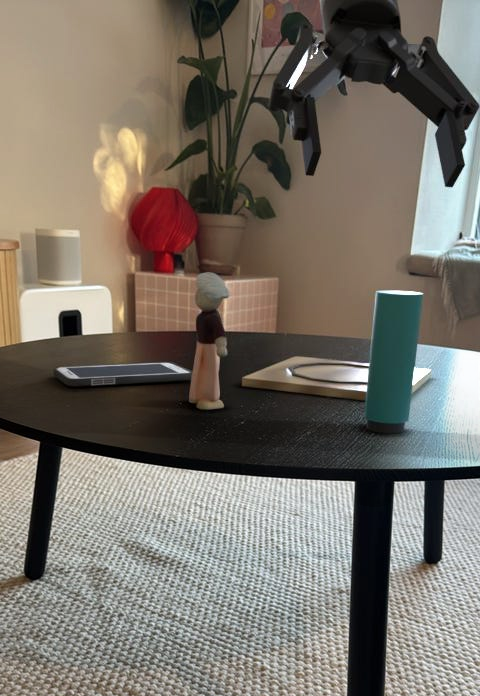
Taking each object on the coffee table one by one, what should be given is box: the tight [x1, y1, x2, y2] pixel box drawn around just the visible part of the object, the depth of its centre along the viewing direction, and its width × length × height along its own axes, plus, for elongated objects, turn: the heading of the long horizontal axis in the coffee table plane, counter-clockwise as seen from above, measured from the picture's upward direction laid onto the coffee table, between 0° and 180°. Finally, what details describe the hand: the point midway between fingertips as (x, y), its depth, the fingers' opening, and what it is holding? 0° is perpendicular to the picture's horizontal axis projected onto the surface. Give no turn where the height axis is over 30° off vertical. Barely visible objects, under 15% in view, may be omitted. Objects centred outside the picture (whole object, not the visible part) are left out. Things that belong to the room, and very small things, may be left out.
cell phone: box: [53, 361, 193, 388], centre depth 86 cm, size 8×15×1 cm, turn 116°
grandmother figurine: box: [188, 271, 231, 411], centre depth 73 cm, size 8×4×13 cm, turn 30°
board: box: [241, 355, 432, 402], centre depth 89 cm, size 18×18×1 cm
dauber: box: [363, 289, 424, 435], centre depth 67 cm, size 4×4×12 cm
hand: (385, 170), depth 69 cm, fingers open, 13 cm apart
